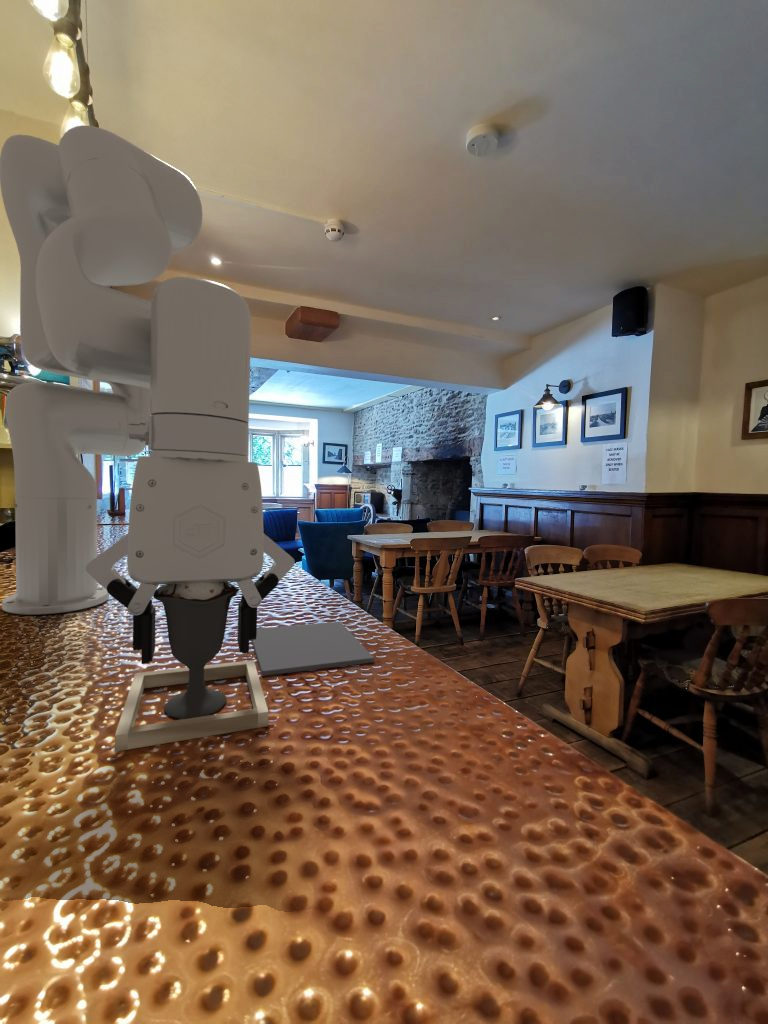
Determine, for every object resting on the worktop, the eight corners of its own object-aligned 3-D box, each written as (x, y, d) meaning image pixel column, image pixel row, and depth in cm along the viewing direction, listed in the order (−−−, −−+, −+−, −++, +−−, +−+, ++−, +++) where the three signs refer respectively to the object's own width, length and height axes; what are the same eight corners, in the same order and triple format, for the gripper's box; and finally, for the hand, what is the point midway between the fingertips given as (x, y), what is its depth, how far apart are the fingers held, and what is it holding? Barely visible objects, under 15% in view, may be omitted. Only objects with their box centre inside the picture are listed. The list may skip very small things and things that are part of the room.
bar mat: (249, 632, 56) (249, 629, 56) (339, 625, 61) (339, 621, 61) (262, 676, 44) (262, 671, 44) (373, 662, 49) (374, 657, 49)
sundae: (209, 731, 34) (212, 539, 33) (134, 718, 36) (135, 533, 35) (251, 692, 41) (255, 530, 40) (186, 682, 42) (188, 526, 41)
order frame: (135, 685, 41) (135, 673, 41) (253, 671, 45) (253, 660, 45) (114, 751, 31) (114, 735, 31) (268, 726, 35) (268, 711, 35)
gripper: (62, 430, 30) (63, 685, 31) (314, 448, 37) (307, 658, 38) (88, 438, 37) (88, 647, 38) (296, 452, 43) (290, 629, 45)
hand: (197, 650), depth 38 cm, fingers open, 6 cm apart
